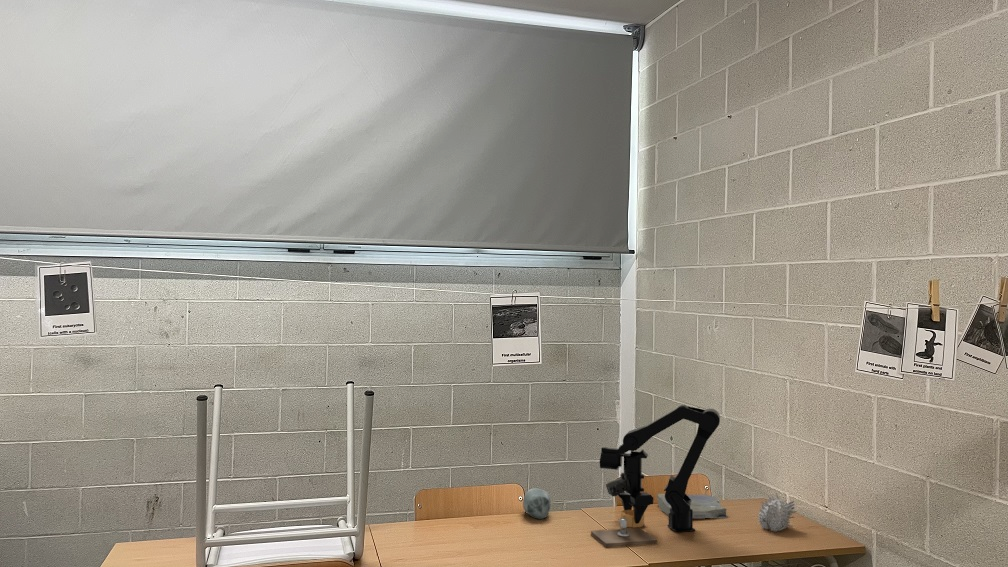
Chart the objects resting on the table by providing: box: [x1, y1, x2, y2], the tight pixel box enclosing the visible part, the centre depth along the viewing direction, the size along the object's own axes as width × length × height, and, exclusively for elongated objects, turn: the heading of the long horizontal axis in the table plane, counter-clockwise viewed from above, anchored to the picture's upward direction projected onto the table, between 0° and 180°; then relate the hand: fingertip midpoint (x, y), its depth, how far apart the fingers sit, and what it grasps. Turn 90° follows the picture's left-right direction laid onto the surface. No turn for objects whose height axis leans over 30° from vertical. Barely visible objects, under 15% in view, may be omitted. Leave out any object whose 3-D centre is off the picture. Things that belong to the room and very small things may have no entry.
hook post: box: [617, 518, 630, 537], centre depth 221 cm, size 4×4×5 cm
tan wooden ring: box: [619, 509, 645, 528], centre depth 237 cm, size 7×7×4 cm
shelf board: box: [590, 527, 658, 549], centre depth 221 cm, size 16×12×1 cm
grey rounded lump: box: [522, 487, 551, 520], centre depth 246 cm, size 14×10×10 cm
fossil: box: [656, 493, 728, 520], centre depth 253 cm, size 22×5×19 cm
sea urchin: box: [756, 492, 798, 532], centre depth 234 cm, size 12×11×12 cm
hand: (632, 520), depth 237 cm, fingers closed on tan wooden ring, 7 cm apart
